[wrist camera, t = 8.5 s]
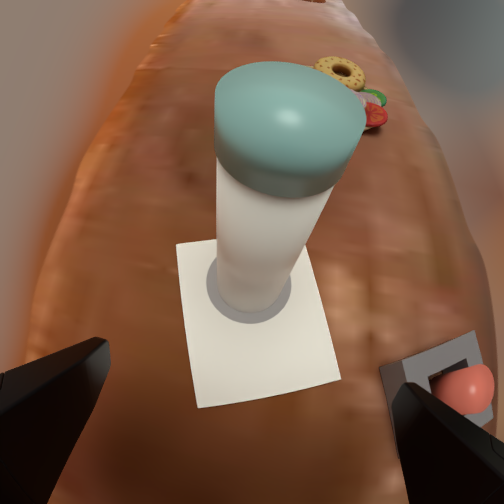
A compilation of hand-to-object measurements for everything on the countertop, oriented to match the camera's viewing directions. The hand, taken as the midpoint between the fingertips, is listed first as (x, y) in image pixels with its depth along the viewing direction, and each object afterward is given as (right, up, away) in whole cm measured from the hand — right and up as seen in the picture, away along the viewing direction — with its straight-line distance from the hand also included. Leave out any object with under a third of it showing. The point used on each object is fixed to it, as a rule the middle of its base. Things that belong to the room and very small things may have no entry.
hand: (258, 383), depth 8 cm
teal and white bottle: (0, +2, +12) cm, 12 cm away
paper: (0, 0, +12) cm, 12 cm away
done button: (+13, -6, +8) cm, 16 cm away
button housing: (+12, -7, +10) cm, 17 cm away
